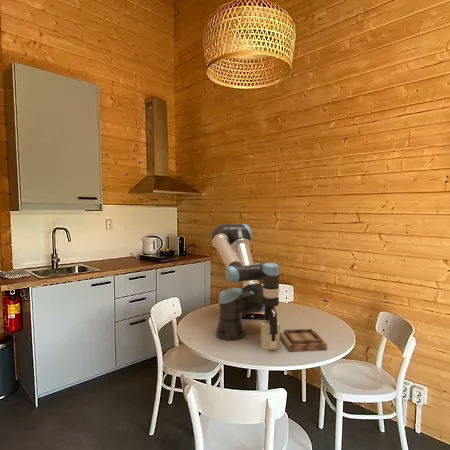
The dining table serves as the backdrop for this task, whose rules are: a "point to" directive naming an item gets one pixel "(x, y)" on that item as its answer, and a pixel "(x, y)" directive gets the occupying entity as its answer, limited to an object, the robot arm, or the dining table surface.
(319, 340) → the stand
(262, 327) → the can
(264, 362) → the dining table surface
